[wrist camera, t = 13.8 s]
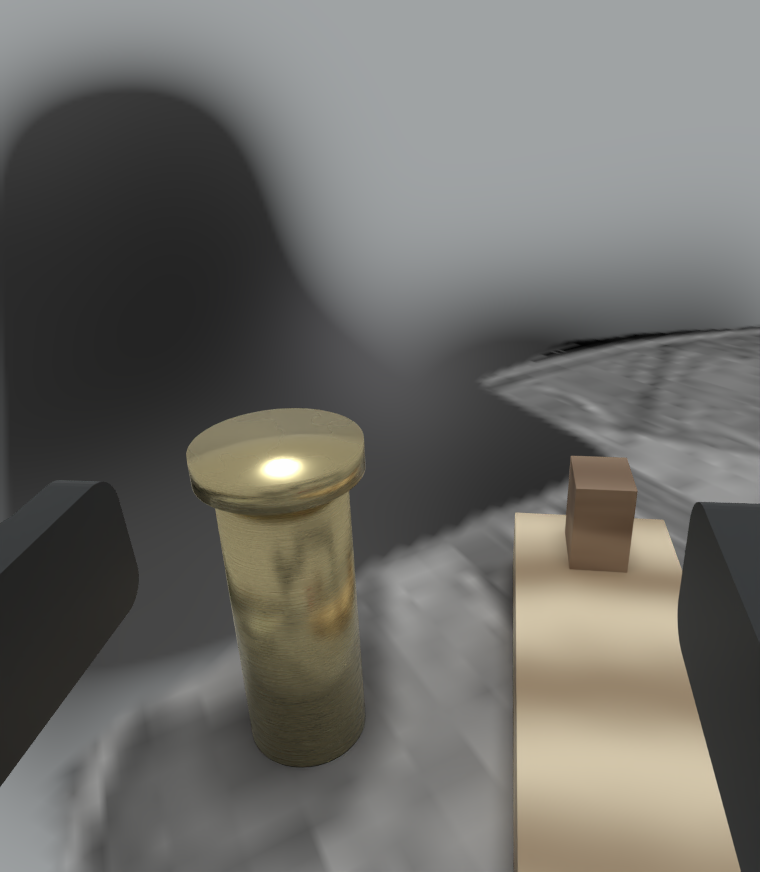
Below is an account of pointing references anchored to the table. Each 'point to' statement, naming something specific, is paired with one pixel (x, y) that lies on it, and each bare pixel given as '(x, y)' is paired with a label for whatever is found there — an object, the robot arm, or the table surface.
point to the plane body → (606, 693)
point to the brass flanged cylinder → (290, 572)
